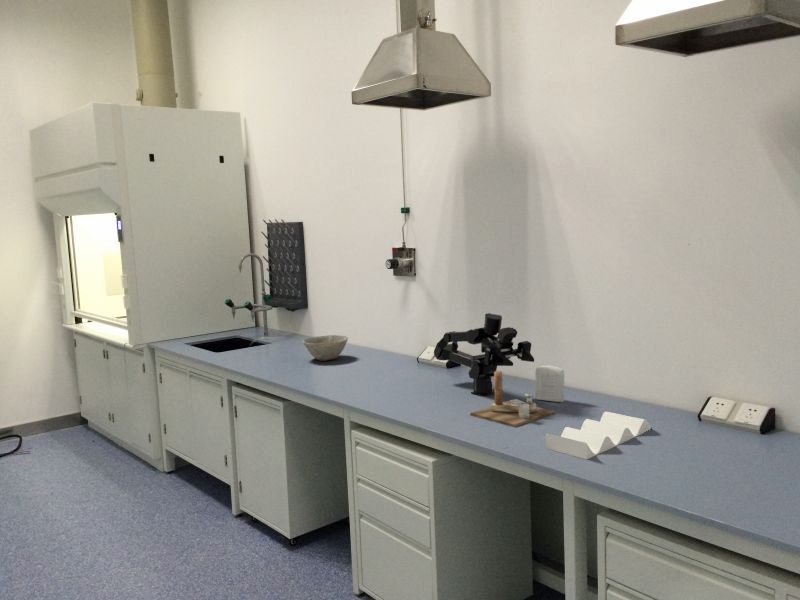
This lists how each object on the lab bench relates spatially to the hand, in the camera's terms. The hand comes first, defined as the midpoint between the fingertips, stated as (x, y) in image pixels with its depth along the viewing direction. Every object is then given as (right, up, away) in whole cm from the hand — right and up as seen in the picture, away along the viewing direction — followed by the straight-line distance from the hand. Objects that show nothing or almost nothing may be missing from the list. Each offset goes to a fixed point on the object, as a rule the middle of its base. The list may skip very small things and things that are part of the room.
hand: (523, 362), depth 227 cm
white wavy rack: (+17, -20, -33) cm, 42 cm away
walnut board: (-5, -17, -6) cm, 18 cm away
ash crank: (-4, -16, -5) cm, 17 cm away
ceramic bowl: (-78, -8, +98) cm, 125 cm away
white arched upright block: (+11, -14, +10) cm, 21 cm away
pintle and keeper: (-1, -16, -9) cm, 19 cm away
